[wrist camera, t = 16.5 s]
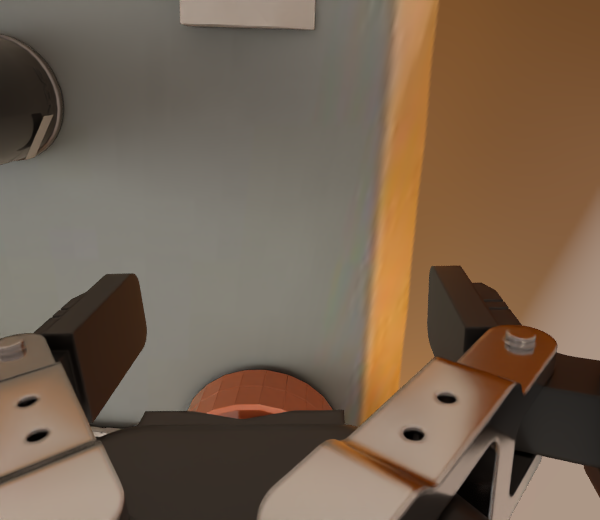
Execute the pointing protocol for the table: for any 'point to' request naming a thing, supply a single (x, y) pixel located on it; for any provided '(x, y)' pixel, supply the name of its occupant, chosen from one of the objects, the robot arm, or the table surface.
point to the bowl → (256, 395)
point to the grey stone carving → (249, 13)
